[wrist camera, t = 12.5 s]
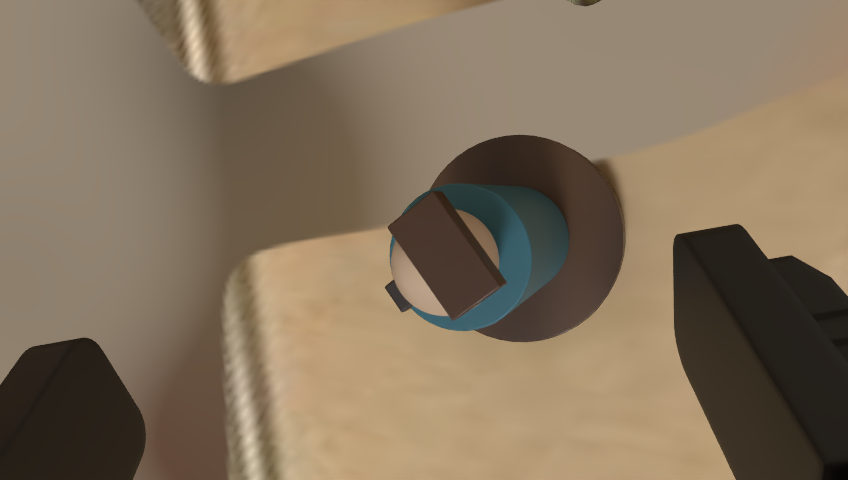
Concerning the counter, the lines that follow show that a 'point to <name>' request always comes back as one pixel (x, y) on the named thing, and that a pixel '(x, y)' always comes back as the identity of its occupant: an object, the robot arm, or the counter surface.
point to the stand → (585, 217)
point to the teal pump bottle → (474, 252)
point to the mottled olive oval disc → (584, 2)
